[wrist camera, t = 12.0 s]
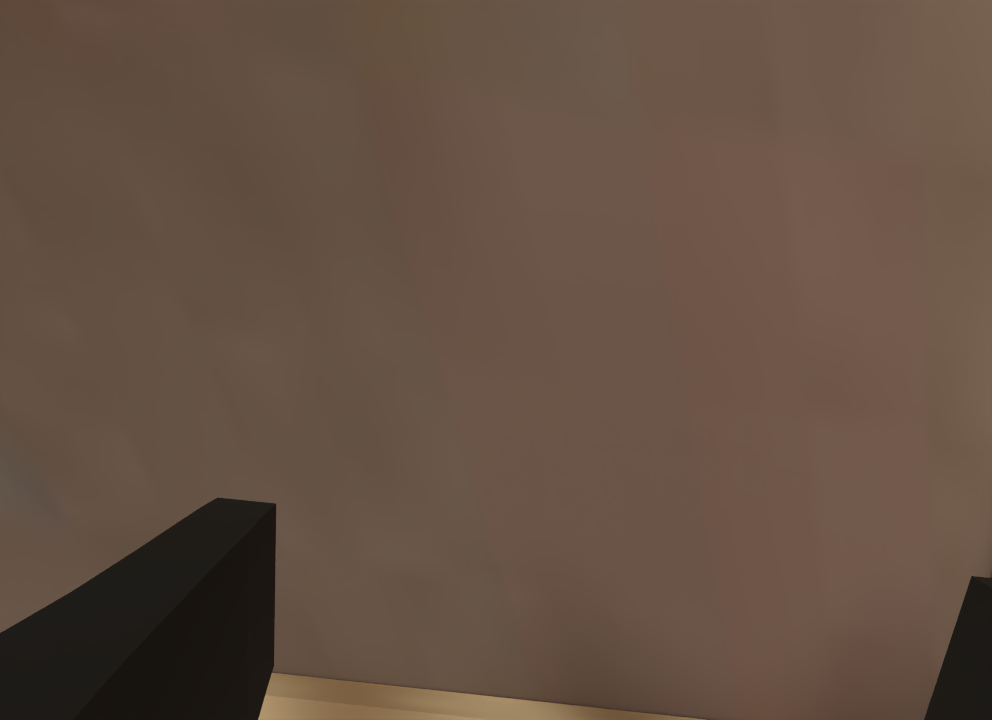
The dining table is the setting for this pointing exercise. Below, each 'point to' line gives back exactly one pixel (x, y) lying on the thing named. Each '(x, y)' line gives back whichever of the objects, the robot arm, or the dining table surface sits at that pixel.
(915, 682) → the dining table surface
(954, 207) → the dining table surface
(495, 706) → the chessboard
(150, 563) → the robot arm
